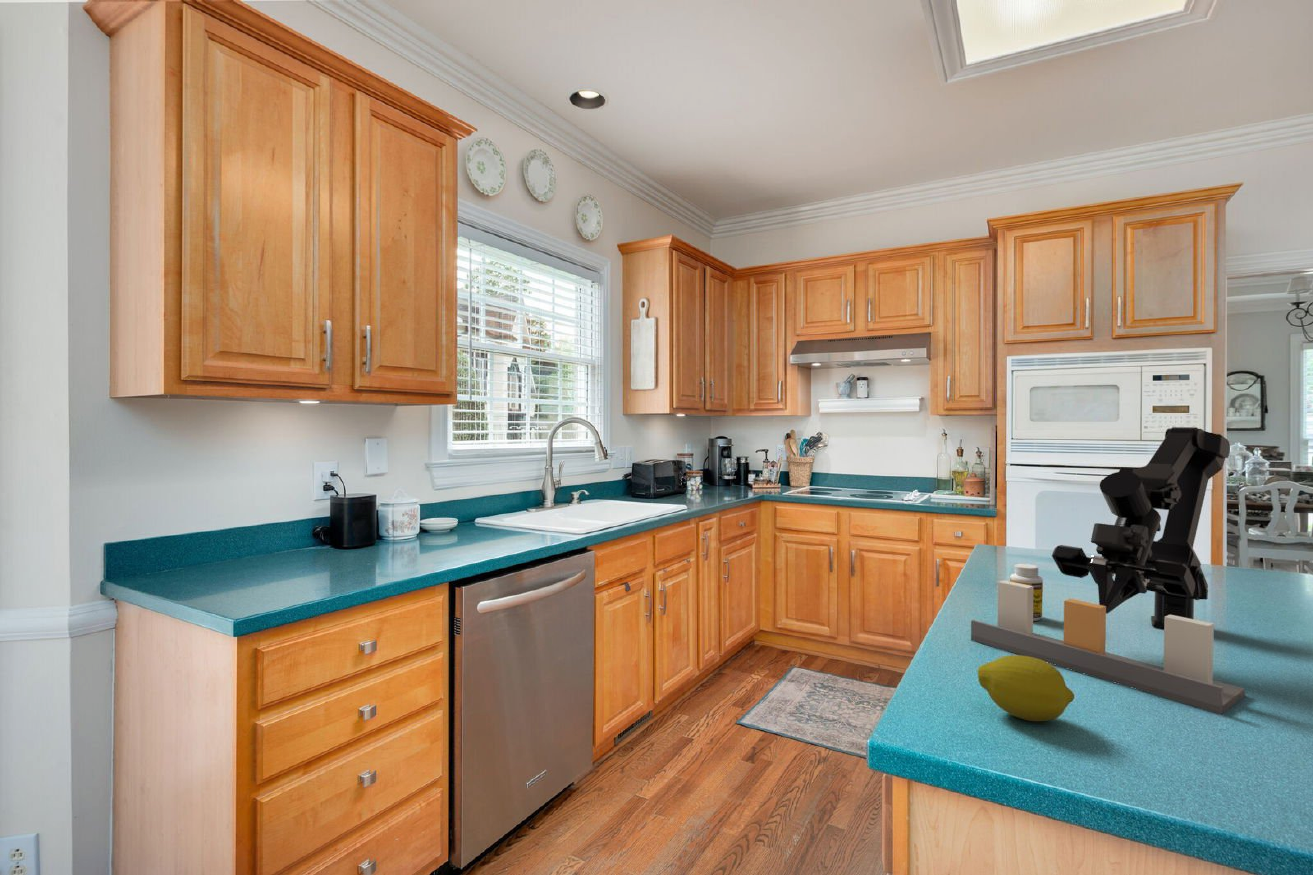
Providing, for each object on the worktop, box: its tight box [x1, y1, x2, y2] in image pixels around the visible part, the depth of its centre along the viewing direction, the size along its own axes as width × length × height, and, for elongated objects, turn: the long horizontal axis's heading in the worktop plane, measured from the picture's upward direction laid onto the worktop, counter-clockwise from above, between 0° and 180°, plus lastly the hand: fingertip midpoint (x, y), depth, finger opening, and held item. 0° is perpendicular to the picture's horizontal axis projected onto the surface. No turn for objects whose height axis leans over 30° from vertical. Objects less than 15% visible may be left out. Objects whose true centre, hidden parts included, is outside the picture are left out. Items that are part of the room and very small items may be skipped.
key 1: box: [997, 580, 1034, 636], centre depth 110 cm, size 2×5×9 cm, turn 34°
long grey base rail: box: [970, 619, 1246, 715], centre depth 100 cm, size 10×34×4 cm, turn 34°
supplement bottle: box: [1009, 563, 1044, 622], centre depth 124 cm, size 6×6×10 cm
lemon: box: [977, 654, 1075, 722], centre depth 83 cm, size 11×8×8 cm
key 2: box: [1163, 615, 1215, 684], centre depth 90 cm, size 2×5×9 cm, turn 34°
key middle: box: [1063, 598, 1107, 655], centre depth 99 cm, size 2×5×9 cm, turn 33°
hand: (1103, 611), depth 102 cm, fingers closed
